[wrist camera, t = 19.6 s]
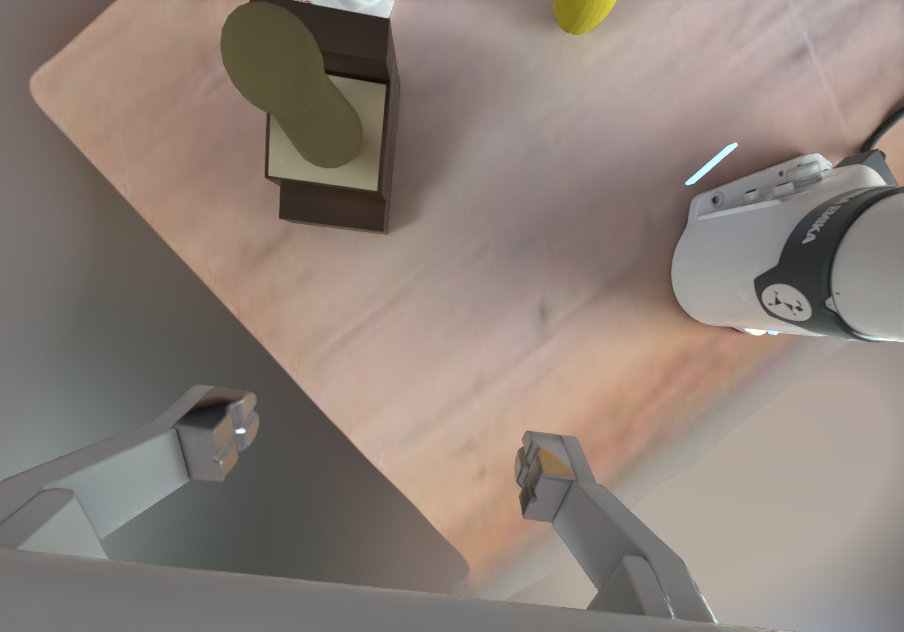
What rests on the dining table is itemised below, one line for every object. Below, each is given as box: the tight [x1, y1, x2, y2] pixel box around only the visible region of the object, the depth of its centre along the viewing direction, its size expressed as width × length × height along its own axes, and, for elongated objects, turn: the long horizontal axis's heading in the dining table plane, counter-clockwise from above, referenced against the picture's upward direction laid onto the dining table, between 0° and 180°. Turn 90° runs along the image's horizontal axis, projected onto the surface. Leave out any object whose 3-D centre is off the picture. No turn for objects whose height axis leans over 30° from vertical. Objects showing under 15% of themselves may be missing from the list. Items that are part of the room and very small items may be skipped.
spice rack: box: [250, 0, 400, 235], centre depth 29 cm, size 15×10×9 cm, turn 173°
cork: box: [220, 1, 363, 168], centre depth 22 cm, size 6×6×11 cm
